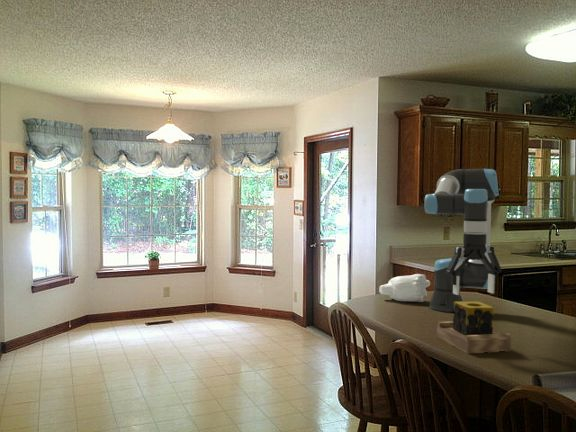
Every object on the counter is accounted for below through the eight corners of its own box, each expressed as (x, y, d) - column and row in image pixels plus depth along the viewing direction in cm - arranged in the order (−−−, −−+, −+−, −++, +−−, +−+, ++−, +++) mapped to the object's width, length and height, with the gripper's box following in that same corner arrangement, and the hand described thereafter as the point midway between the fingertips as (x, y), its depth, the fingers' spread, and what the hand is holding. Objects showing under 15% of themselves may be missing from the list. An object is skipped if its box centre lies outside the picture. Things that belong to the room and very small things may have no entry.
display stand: (476, 334, 185) (476, 320, 185) (510, 351, 166) (511, 334, 166) (437, 336, 182) (437, 321, 182) (467, 353, 163) (467, 336, 162)
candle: (452, 328, 178) (452, 301, 178) (478, 328, 179) (479, 301, 179) (465, 336, 168) (466, 307, 168) (493, 336, 169) (494, 307, 169)
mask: (381, 301, 257) (431, 301, 249) (377, 303, 243) (430, 302, 235) (380, 274, 258) (430, 273, 250) (376, 274, 245) (428, 273, 237)
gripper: (500, 231, 179) (498, 289, 180) (436, 232, 174) (435, 292, 175) (513, 233, 171) (511, 294, 173) (447, 234, 166) (446, 297, 167)
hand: (473, 293), depth 174 cm, fingers open, 13 cm apart
